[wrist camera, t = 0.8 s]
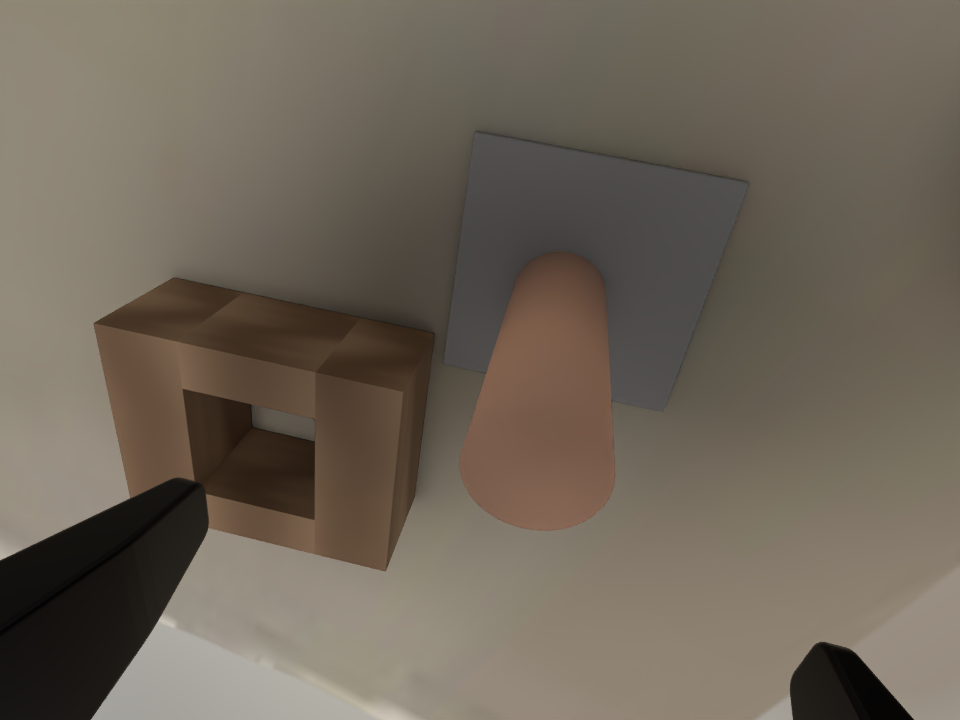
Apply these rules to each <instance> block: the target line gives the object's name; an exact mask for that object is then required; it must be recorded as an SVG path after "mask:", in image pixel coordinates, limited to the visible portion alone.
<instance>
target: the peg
mask: <svg viewBox="0 0 960 720" xmlns="http://www.w3.org/2000/svg"><path fill="white" fill-rule="evenodd" d="M460 472H461V476H462V480H463V482H464V485H465V487H466V489H467V490H468V492H469V494H470V495H471V497H472V498H473V499H474V500H475V501H476V503H477V504H478V505H479V506H480V507H482V508H483V509H484V510H485V511H486V512H488V513H489V514H491V515H492V516H494V517H495V518H497V519H499V520H501V521H503V522H505V523H508V524H511V525H513V526H517V527H520V528H525V529H530V530H558V529H564V528H568V527H571V526H574V525H577V524H580V523H582V522H584V521H586V520H587V519H589V518H591V517H592V516H593V515H595V514H596V513H597V512H598V511H599V510H600V509H601V508H602V507H603V506H604V505H605V503H606V502H607V500H608V499H609V497H610V495H611V493H612V490H613V487H614V483H615V462H614V443H613V423H612V404H611V385H610V365H609V346H608V327H607V307H606V290H605V285H604V281H603V279H602V276H601V275H600V273H599V271H598V270H597V269H596V267H595V266H594V265H593V264H592V263H590V262H589V261H588V260H586V259H585V258H583V257H581V256H579V255H576V254H573V253H569V252H550V253H546V254H543V255H540V256H538V257H536V258H534V259H533V260H531V261H530V262H529V263H528V264H526V265H525V266H524V268H523V269H522V270H521V271H520V273H519V275H518V277H517V279H516V281H515V285H514V288H513V291H512V294H511V297H510V300H509V303H508V307H507V310H506V313H505V316H504V319H503V322H502V325H501V329H500V332H499V335H498V338H497V341H496V344H495V347H494V351H493V354H492V357H491V360H490V363H489V366H488V369H487V373H486V376H485V379H484V382H483V385H482V388H481V391H480V395H479V398H478V401H477V404H476V407H475V410H474V413H473V417H472V420H471V423H470V426H469V429H468V432H467V435H466V439H465V442H464V445H463V448H462V452H461V456H460Z"/></svg>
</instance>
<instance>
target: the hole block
mask: <svg viewBox="0 0 960 720" xmlns="http://www.w3.org/2000/svg"><path fill="white" fill-rule="evenodd" d="M94 328H95V333H96V338H97V342H98V347H99V352H100V357H101V361H102V366H103V371H104V376H105V380H106V385H107V390H108V395H109V399H110V404H111V409H112V414H113V418H114V423H115V428H116V433H117V437H118V442H119V447H120V452H121V456H122V461H123V466H124V471H125V475H126V480H127V485H128V490H129V494H130V498H132V497H134V496H136V495H138V494H140V493H142V492H145V491H147V490H149V489H151V488H153V487H155V486H157V485H159V484H161V483H163V482H165V481H168V480H170V479H172V478H177V477H180V478H185V479H189V480H193V481H197V482H200V483H202V484H203V486H204V487H205V490H206V499H207V507H208V516H209V527H208V528H211V529H215V530H219V531H223V532H227V533H231V534H235V535H239V536H243V537H248V538H252V539H256V540H260V541H264V542H268V543H272V544H276V545H280V546H284V547H288V548H292V549H296V550H300V551H304V552H309V553H313V554H317V555H321V556H325V557H329V558H333V559H337V560H341V561H345V562H349V563H353V564H357V565H361V566H365V567H370V568H374V569H378V570H382V571H386V569H387V567H388V564H389V562H390V559H391V556H392V554H393V551H394V549H395V546H396V544H397V541H398V538H399V536H400V533H401V531H402V528H403V526H404V523H405V520H406V518H407V515H408V513H409V510H410V508H411V505H412V502H413V500H414V497H415V489H416V481H417V473H418V465H419V456H420V448H421V440H422V432H423V424H424V416H425V407H426V399H427V391H428V383H429V375H430V367H431V358H432V350H433V342H434V334H435V333H430V332H425V331H421V330H416V329H411V328H407V327H402V326H397V325H393V324H388V323H383V322H379V321H374V320H369V319H365V318H360V317H355V316H351V315H346V314H341V313H336V312H332V311H327V310H322V309H318V308H313V307H308V306H304V305H299V304H294V303H290V302H285V301H280V300H276V299H271V298H266V297H261V296H257V295H252V294H247V293H243V292H238V291H233V290H229V289H224V288H219V287H215V286H210V285H205V284H201V283H196V282H191V281H187V280H182V279H177V278H172V279H170V280H169V281H167V282H165V283H163V284H161V285H160V286H158V287H156V288H154V289H153V290H151V291H149V292H147V293H146V294H144V295H142V296H140V297H139V298H137V299H135V300H133V301H132V302H130V303H128V304H126V305H125V306H123V307H121V308H119V309H118V310H116V311H114V312H112V313H111V314H109V315H107V316H105V317H103V318H102V319H100V320H98V321H96V322H95V323H94ZM250 404H252V405H256V406H261V407H265V408H270V409H274V410H278V411H283V412H287V413H292V414H296V415H300V416H305V417H309V418H313V419H315V442H311V441H307V440H303V439H298V438H294V437H290V436H285V435H281V434H277V433H272V432H268V431H264V430H259V429H255V428H252V421H251V405H250Z"/></svg>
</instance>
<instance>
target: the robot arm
mask: <svg viewBox="0 0 960 720" xmlns="http://www.w3.org/2000/svg"><path fill="white" fill-rule="evenodd" d="M208 527H209V516H208V507H207V499H206V490H205V487H204V486H203V484H202V483H200V482H197V481H193V480H189V479H185V478H180V477H177V478H172V479H170V480H168V481H165V482H163V483H161V484H159V485H157V486H155V487H153V488H151V489H149V490H147V491H145V492H142V493H140V494H138V495H136V496H134V497H132V498H130V499H128V500H126V501H124V502H122V503H119V504H117V505H115V506H113V507H111V508H109V509H107V510H105V511H103V512H101V513H99V514H96V515H94V516H92V517H90V518H88V519H86V520H84V521H82V522H80V523H78V524H76V525H73V526H71V527H69V528H67V529H65V530H63V531H61V532H59V533H57V534H55V535H53V536H50V537H48V538H46V539H44V540H42V541H40V542H38V543H36V544H34V545H32V546H30V547H27V548H25V549H23V550H21V551H19V552H17V553H15V554H13V555H11V556H9V557H6V558H4V559H2V560H0V720H91V719H92V717H93V716H94V714H95V713H96V712H97V710H98V709H99V707H100V706H101V704H102V703H103V701H104V700H105V699H106V697H107V696H108V694H109V693H110V691H111V690H112V689H113V687H114V686H115V684H116V683H117V681H118V680H119V678H120V677H121V676H122V674H123V673H124V671H125V670H126V668H127V667H128V666H129V664H130V663H131V661H132V660H133V658H134V657H135V656H136V654H137V652H138V651H139V650H140V648H141V647H142V645H143V644H144V642H145V641H146V639H147V638H148V636H149V635H150V633H151V632H152V630H153V628H154V627H155V625H156V623H157V622H158V620H159V618H160V617H161V615H162V613H163V611H164V610H165V608H166V606H167V604H168V602H169V601H170V599H171V597H172V595H173V593H174V592H175V590H176V588H177V586H178V585H179V583H180V581H181V579H182V577H183V576H184V574H185V572H186V570H187V568H188V567H189V565H190V563H191V561H192V559H193V558H194V556H195V554H196V552H197V551H198V549H199V547H200V545H201V543H202V542H203V540H204V538H205V536H206V533H207V531H208ZM790 697H791V706H792V715H793V720H914V719H913V718H912V717H911V716H910V715H909V713H908V712H907V711H906V710H905V709H904V708H903V706H902V705H901V704H900V703H899V702H898V701H897V700H896V698H894V696H893V695H892V694H891V693H890V692H889V690H888V689H887V688H886V687H885V686H884V685H883V684H882V683H881V681H880V680H879V679H878V678H877V677H876V676H875V674H873V672H872V671H871V670H870V669H869V668H868V666H867V665H866V664H865V663H864V662H863V661H862V660H861V658H860V657H859V656H858V655H857V654H856V653H855V652H853V651H852V650H850V649H848V648H846V647H842V646H838V645H834V644H831V643H827V642H819V643H817V644H815V645H814V646H813V647H812V649H811V650H810V651H809V653H808V654H807V655H806V657H805V658H804V660H803V661H802V662H801V664H800V665H799V666H798V668H797V669H796V670H795V672H794V673H793V676H792V678H791V683H790Z"/></svg>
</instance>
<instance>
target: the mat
mask: <svg viewBox="0 0 960 720" xmlns="http://www.w3.org/2000/svg"><path fill="white" fill-rule="evenodd" d="M749 184H750V183H749V182H747V181H743V180H738V179H732V178H727V177H722V176H716V175H711V174H705V173H700V172H695V171H689V170H684V169H679V168H673V167H668V166H662V165H657V164H652V163H646V162H641V161H636V160H630V159H625V158H619V157H614V156H609V155H603V154H598V153H593V152H587V151H582V150H576V149H571V148H566V147H560V146H555V145H550V144H544V143H539V142H534V141H528V140H523V139H517V138H512V137H507V136H501V135H496V134H491V133H485V132H480V131H475V132H474V138H473V146H472V153H471V161H470V168H469V175H468V183H467V190H466V198H465V205H464V212H463V220H462V227H461V235H460V242H459V249H458V257H457V264H456V272H455V279H454V287H453V294H452V301H451V309H450V316H449V324H448V331H447V338H446V346H445V353H444V361H443V364H445V365H449V366H454V367H459V368H463V369H468V370H472V371H477V372H482V373H487V369H488V366H489V363H490V360H491V357H492V354H493V351H494V347H495V344H496V341H497V338H498V335H499V332H500V329H501V325H502V322H503V319H504V316H505V313H506V310H507V307H508V303H509V300H510V297H511V294H512V291H513V288H514V285H515V281H516V279H517V277H518V275H519V273H520V271H521V270H522V269H523V268H524V266H525V265H526V264H528V263H529V262H530V261H531V260H533V259H534V258H536V257H538V256H540V255H543V254H546V253H550V252H569V253H573V254H576V255H579V256H581V257H583V258H585V259H586V260H588V261H589V262H590V263H592V264H593V265H594V266H595V267H596V269H597V270H598V271H599V273H600V275H601V276H602V279H603V281H604V285H605V290H606V307H607V327H608V346H609V365H610V385H611V401H615V402H620V403H624V404H629V405H634V406H638V407H643V408H647V409H652V410H657V411H661V412H664V409H665V407H666V404H667V401H668V399H669V396H670V394H671V391H672V388H673V386H674V383H675V380H676V378H677V375H678V372H679V370H680V367H681V364H682V362H683V359H684V356H685V354H686V351H687V348H688V346H689V343H690V340H691V338H692V335H693V332H694V330H695V327H696V324H697V322H698V319H699V317H700V314H701V311H702V309H703V306H704V303H705V301H706V298H707V295H708V293H709V290H710V287H711V285H712V282H713V279H714V277H715V274H716V271H717V269H718V266H719V263H720V261H721V258H722V255H723V253H724V250H725V248H726V245H727V242H728V240H729V237H730V234H731V232H732V229H733V226H734V224H735V221H736V218H737V216H738V213H739V210H740V208H741V205H742V202H743V200H744V197H745V194H746V192H747V189H748V186H749Z"/></svg>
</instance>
